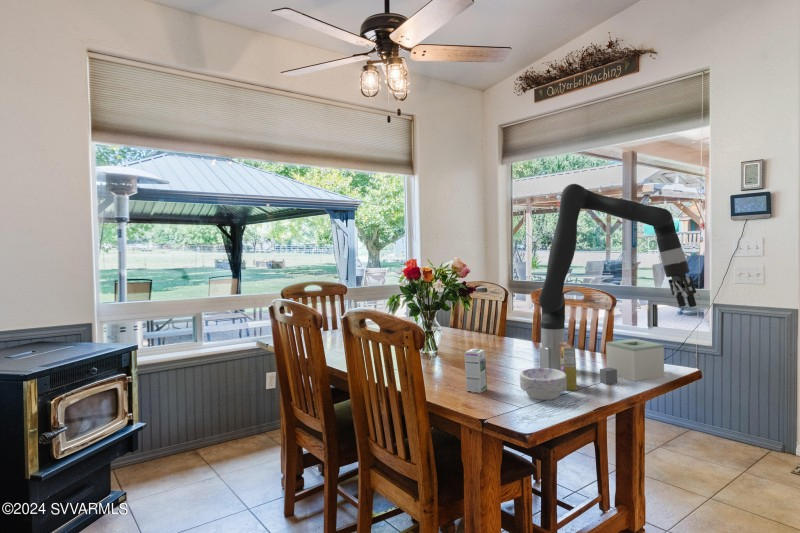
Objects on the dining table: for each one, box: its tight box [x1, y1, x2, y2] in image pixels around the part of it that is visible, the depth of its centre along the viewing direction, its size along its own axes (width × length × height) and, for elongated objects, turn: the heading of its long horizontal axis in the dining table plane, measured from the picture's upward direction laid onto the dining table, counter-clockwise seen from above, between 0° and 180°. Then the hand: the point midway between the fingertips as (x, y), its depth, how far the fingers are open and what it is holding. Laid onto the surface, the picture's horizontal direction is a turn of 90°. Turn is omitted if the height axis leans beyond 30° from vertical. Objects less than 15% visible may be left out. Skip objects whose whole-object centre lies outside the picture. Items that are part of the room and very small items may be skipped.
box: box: [605, 338, 665, 382], centre depth 185 cm, size 14×14×12 cm
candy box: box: [559, 341, 578, 391], centre depth 173 cm, size 9×4×15 cm, turn 171°
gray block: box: [599, 367, 618, 385], centre depth 176 cm, size 5×3×5 cm, turn 109°
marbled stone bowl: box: [519, 367, 567, 401], centre depth 164 cm, size 15×15×8 cm
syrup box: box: [464, 348, 488, 394], centre depth 173 cm, size 6×6×14 cm
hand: (687, 306), depth 171 cm, fingers open, 8 cm apart
